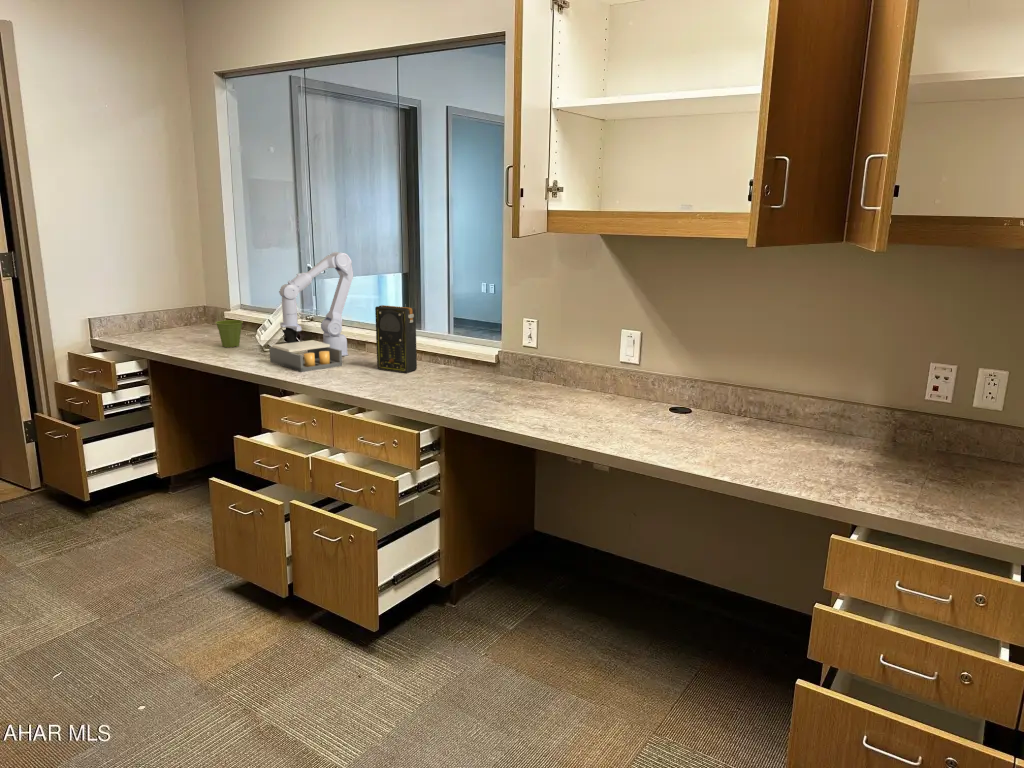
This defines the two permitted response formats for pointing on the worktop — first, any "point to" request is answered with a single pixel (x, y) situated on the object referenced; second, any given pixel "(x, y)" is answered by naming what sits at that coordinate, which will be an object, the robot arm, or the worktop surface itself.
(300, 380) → the worktop surface
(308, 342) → the lid
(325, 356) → the peg
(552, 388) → the worktop surface
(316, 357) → the housing
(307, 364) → the orange rounded cylinder
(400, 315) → the voltmeter
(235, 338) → the plant pot
